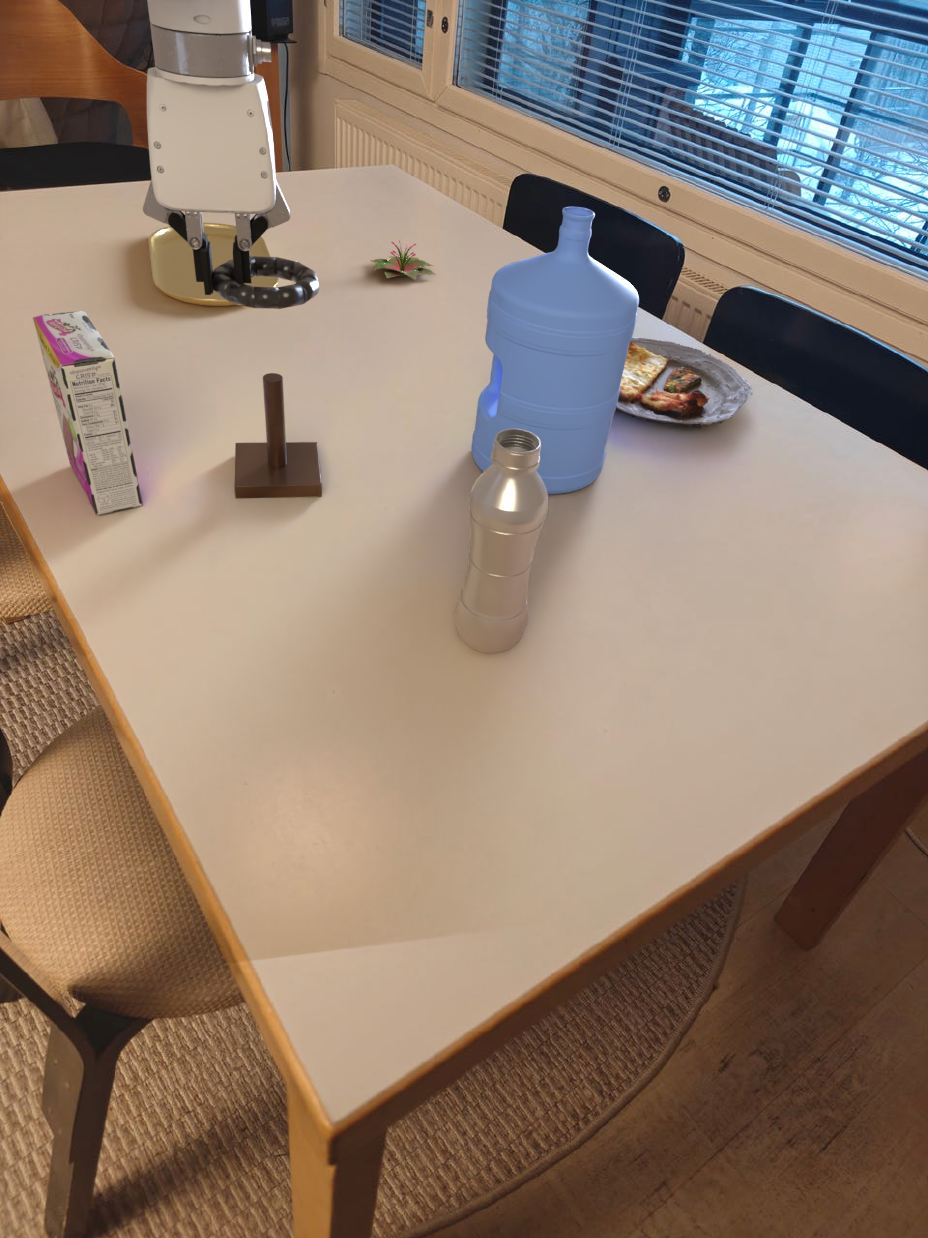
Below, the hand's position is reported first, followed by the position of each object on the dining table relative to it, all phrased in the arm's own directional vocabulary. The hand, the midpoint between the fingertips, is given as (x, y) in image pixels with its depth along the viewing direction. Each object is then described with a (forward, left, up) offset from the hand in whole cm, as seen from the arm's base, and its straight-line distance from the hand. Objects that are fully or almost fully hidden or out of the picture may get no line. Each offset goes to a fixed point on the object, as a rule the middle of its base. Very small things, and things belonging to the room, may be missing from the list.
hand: (224, 288), depth 79 cm
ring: (+4, 0, +1) cm, 4 cm away
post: (+4, +1, -21) cm, 21 cm away
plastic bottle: (+22, -27, -21) cm, 40 cm away
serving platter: (-5, +64, -21) cm, 68 cm away
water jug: (+34, +3, -21) cm, 40 cm away
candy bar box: (-14, 0, -21) cm, 25 cm away
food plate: (+56, +21, -21) cm, 63 cm away
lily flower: (+26, +65, -21) cm, 73 cm away
